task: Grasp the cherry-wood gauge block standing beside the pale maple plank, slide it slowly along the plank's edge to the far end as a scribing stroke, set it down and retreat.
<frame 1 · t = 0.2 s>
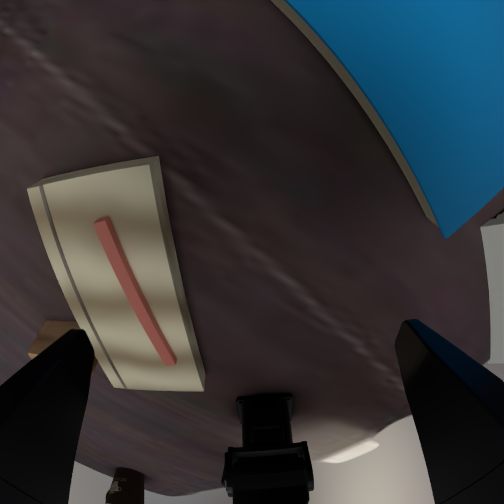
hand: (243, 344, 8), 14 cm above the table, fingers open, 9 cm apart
plank: (128, 292, 25), on the table
coffee mug: (124, 470, 50), on the table
book: (419, 34, 15), on the table
carpenter pencil: (139, 300, 22), point 2 cm above the table, touching plank
gauge: (73, 338, 28), on the table
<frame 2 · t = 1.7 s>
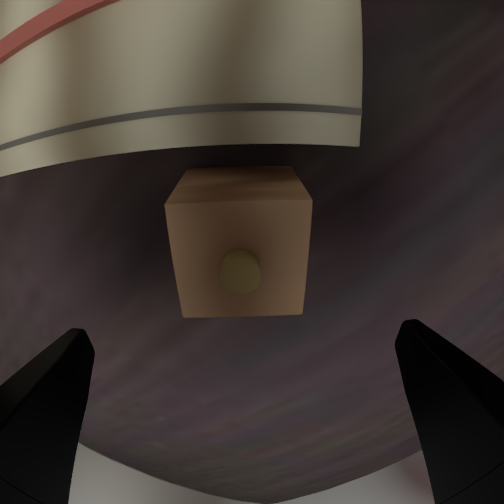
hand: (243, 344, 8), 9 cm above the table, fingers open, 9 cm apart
plank: (111, 50, 11), on the table
carpenter pencil: (70, 12, 8), point 2 cm above the table, touching plank
gauge: (240, 213, 16), on the table
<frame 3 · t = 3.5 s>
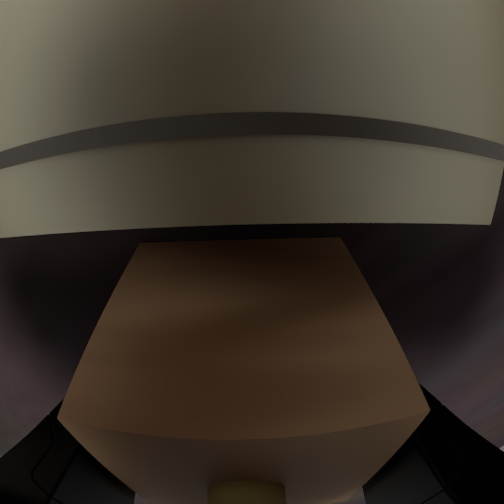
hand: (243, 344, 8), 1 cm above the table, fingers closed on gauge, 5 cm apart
plank: (6, 29, 4), on the table
gauge: (242, 317, 9), on the table, touching gripper
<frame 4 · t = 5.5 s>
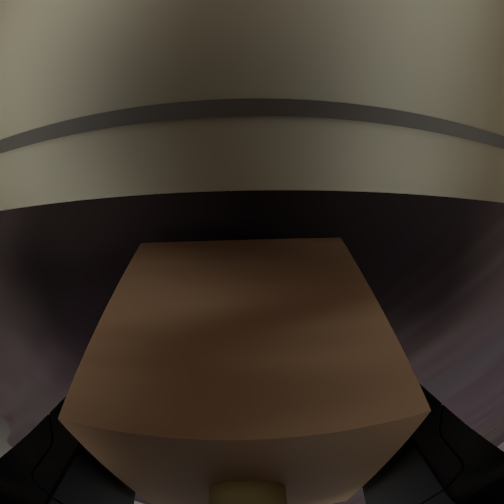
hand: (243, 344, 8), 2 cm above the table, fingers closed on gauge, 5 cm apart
gauge: (243, 318, 9), point 1 cm above the table, touching gripper
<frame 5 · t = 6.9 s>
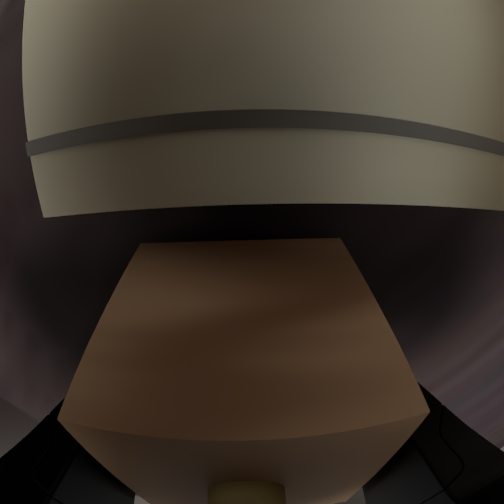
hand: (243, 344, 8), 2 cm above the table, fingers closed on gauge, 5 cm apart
plank: (474, 29, 5), on the table
gauge: (242, 318, 9), point 1 cm above the table, touching gripper
when the fingers open (1 cm above the table, at t = 7.9 s): gauge stays where it is, on the table.
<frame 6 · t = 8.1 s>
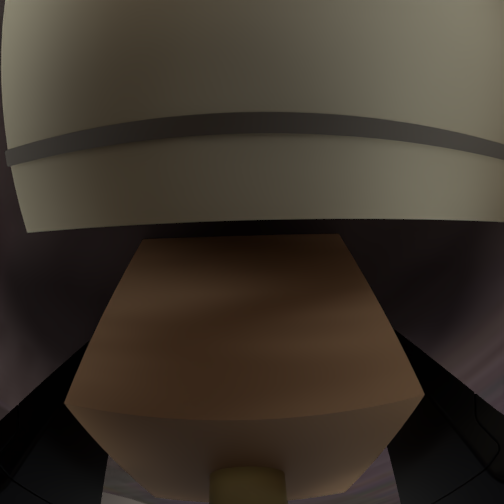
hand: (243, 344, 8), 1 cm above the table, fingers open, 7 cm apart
plank: (488, 28, 5), on the table
gauge: (243, 311, 9), on the table
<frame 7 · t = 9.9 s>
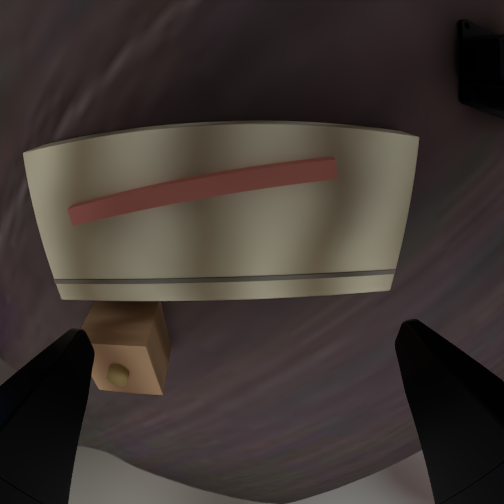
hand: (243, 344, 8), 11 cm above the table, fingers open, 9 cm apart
plank: (217, 206, 18), on the table
carpenter pencil: (193, 186, 15), point 2 cm above the table, touching plank
gauge: (135, 321, 22), on the table
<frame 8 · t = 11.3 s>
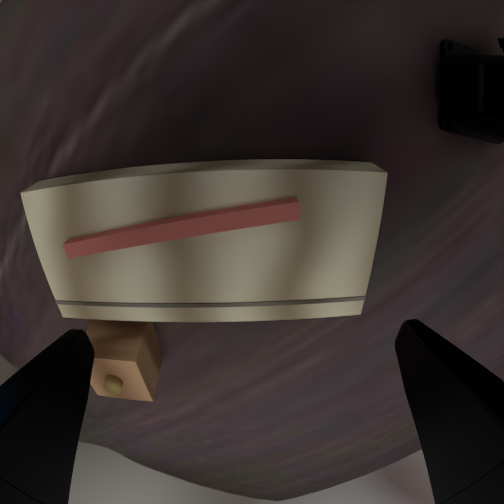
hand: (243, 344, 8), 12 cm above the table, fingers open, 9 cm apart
plank: (196, 238, 20), on the table
carpenter pencil: (169, 226, 16), point 2 cm above the table, touching plank
gauge: (129, 335, 24), on the table
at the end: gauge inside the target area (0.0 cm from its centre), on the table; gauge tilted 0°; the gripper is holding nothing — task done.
